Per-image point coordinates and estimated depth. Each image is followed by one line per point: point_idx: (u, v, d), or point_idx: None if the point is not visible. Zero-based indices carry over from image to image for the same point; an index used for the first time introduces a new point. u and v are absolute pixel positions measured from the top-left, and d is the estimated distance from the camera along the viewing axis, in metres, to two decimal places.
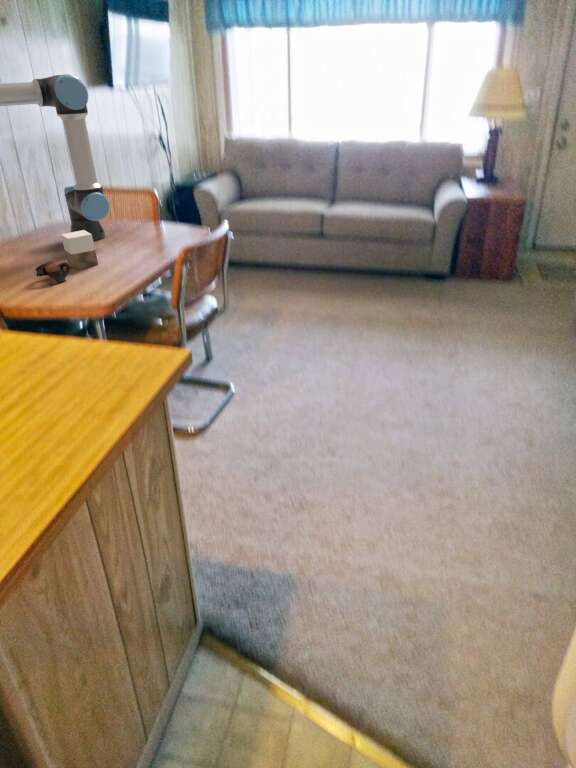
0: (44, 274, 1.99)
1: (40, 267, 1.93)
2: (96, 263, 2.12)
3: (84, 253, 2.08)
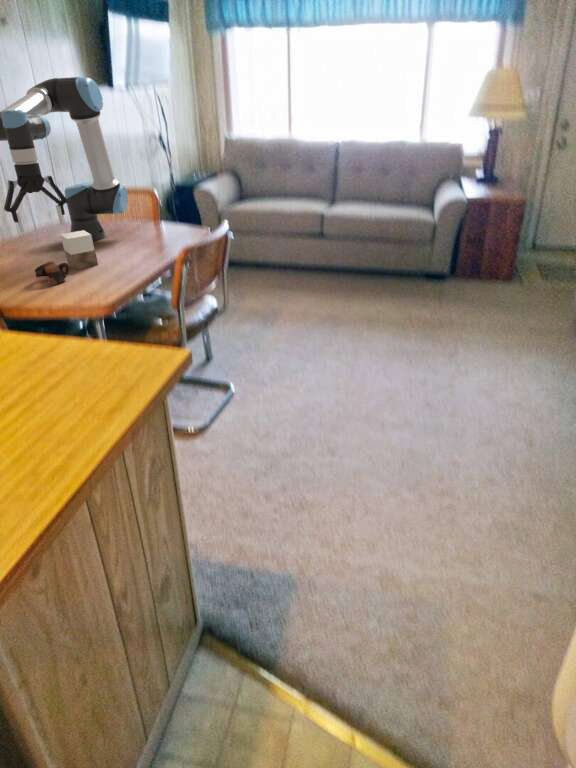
0: (43, 275, 1.98)
1: (39, 268, 1.92)
2: (96, 263, 2.12)
3: (84, 253, 2.08)
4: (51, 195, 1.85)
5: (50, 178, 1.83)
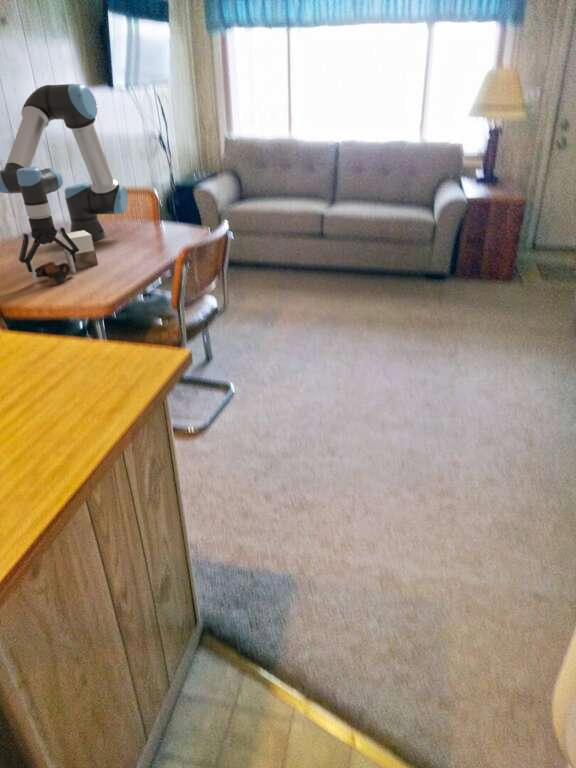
0: (44, 275, 1.98)
1: (40, 268, 1.92)
2: (96, 263, 2.12)
3: (84, 253, 2.08)
4: (63, 245, 1.94)
5: (62, 229, 1.92)
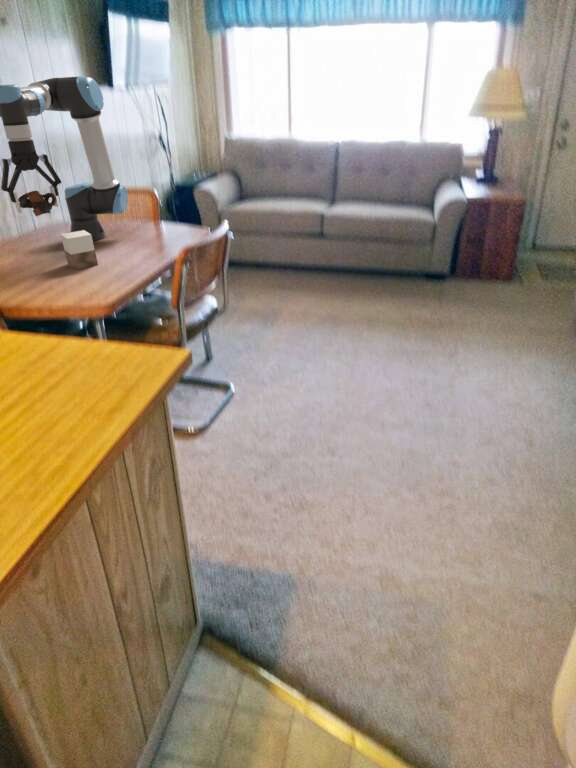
0: (28, 206, 1.86)
1: (23, 197, 1.80)
2: (96, 263, 2.12)
3: (84, 253, 2.08)
4: (45, 174, 1.82)
5: (45, 156, 1.80)
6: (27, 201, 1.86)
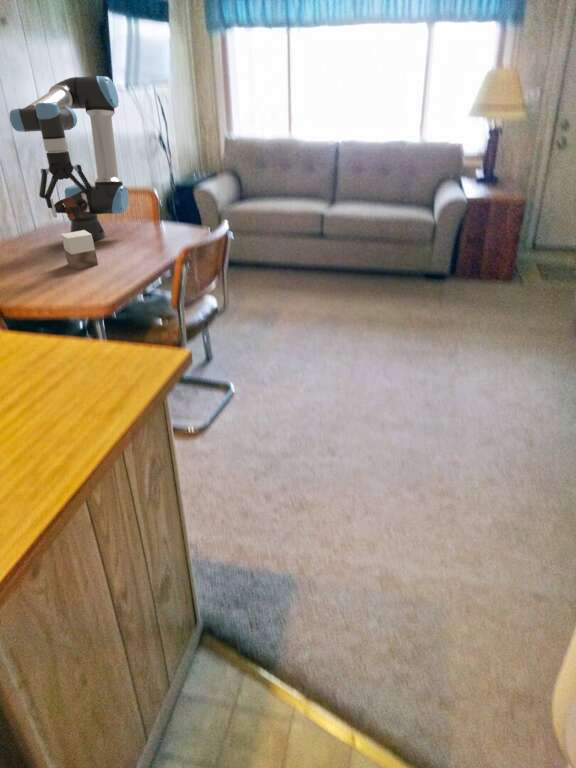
0: (62, 211, 2.05)
1: (59, 203, 1.98)
2: (96, 263, 2.12)
3: (84, 253, 2.08)
4: (78, 183, 2.00)
5: (79, 167, 1.98)
6: (61, 207, 2.04)
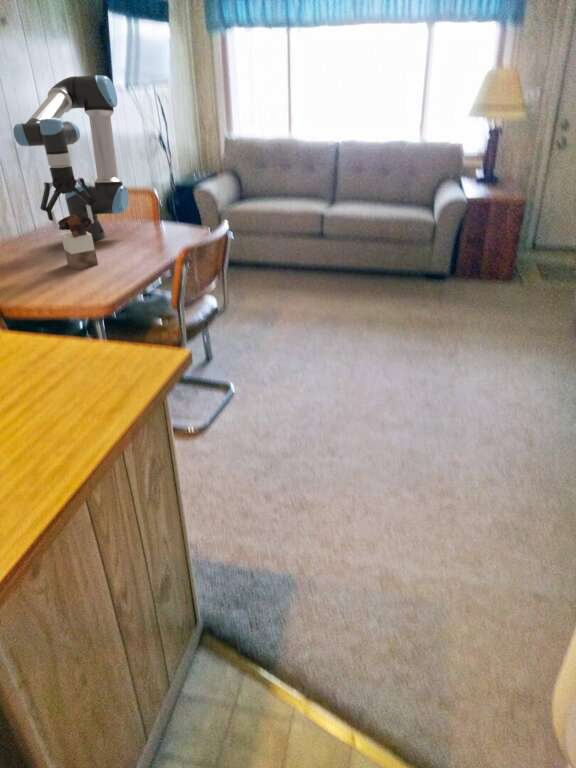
0: (66, 228, 2.08)
1: (63, 220, 2.02)
2: (96, 263, 2.12)
3: (84, 253, 2.08)
4: (82, 195, 2.03)
5: (82, 180, 2.01)
6: (65, 224, 2.07)
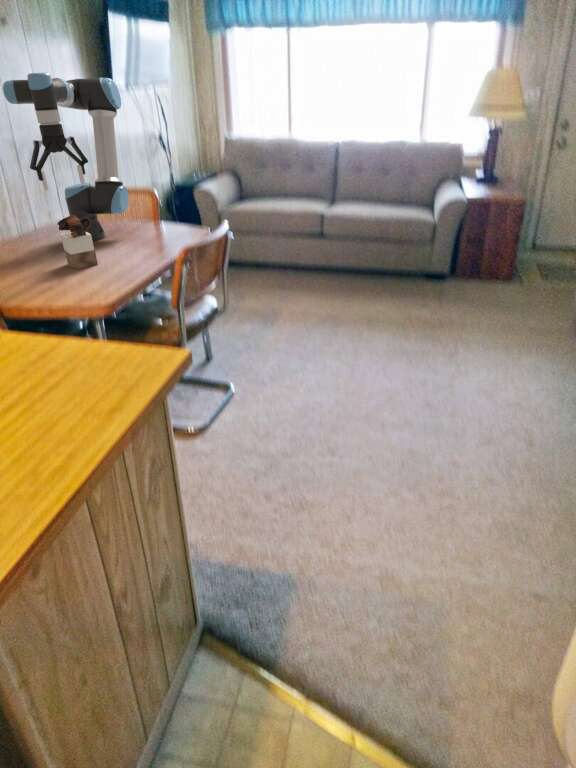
0: (66, 229, 2.08)
1: (62, 221, 2.02)
2: (96, 263, 2.12)
3: (84, 253, 2.08)
4: (73, 155, 1.98)
5: (72, 139, 1.95)
6: (65, 224, 2.07)
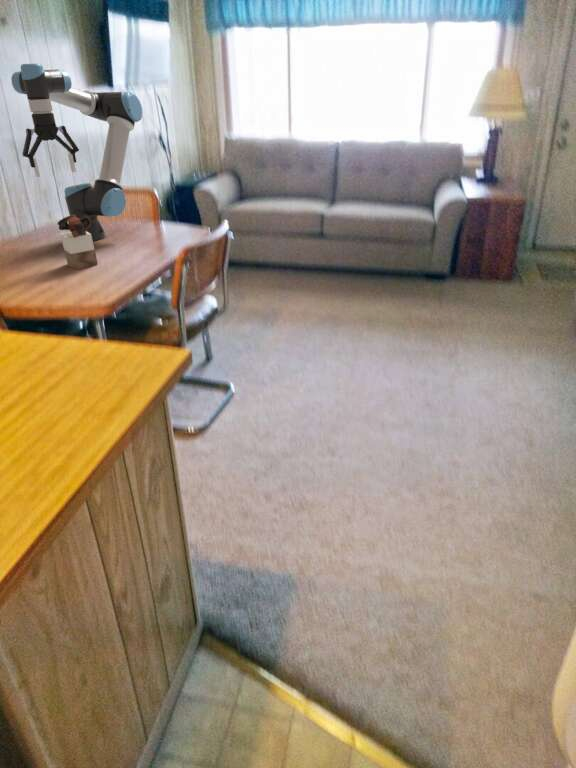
0: (65, 228, 2.09)
1: (63, 220, 2.02)
2: (96, 263, 2.12)
3: (83, 253, 2.08)
4: (64, 143, 2.06)
5: (63, 127, 2.04)
6: (65, 224, 2.08)
